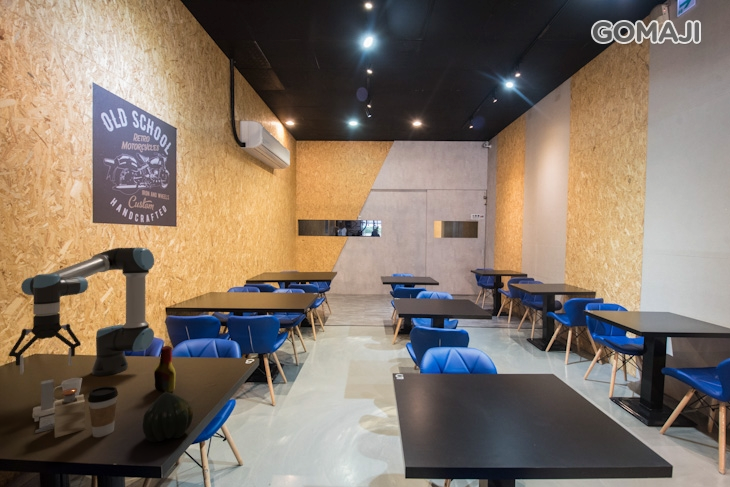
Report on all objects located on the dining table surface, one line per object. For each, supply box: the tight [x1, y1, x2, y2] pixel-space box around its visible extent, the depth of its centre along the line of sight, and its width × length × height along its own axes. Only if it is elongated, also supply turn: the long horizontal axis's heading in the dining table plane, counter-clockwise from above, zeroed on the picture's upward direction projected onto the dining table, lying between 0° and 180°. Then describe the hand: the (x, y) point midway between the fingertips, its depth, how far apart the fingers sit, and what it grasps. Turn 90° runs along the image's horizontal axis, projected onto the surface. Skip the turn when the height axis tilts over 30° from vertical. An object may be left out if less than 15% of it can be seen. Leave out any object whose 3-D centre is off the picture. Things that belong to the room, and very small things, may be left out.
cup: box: [53, 377, 83, 401], centre depth 146 cm, size 7×10×8 cm
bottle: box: [153, 345, 176, 393], centre depth 155 cm, size 12×6×20 cm, turn 58°
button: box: [61, 388, 77, 404], centre depth 123 cm, size 4×4×7 cm
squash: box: [142, 392, 194, 443], centre depth 118 cm, size 14×15×15 cm
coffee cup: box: [87, 386, 119, 438], centre depth 120 cm, size 8×8×15 cm
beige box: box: [54, 393, 86, 439], centre depth 123 cm, size 8×8×10 cm
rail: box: [35, 413, 55, 434], centre depth 129 cm, size 6×19×2 cm, turn 42°
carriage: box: [32, 378, 55, 423], centre depth 132 cm, size 8×7×13 cm
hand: (46, 369), depth 132 cm, fingers open, 13 cm apart
